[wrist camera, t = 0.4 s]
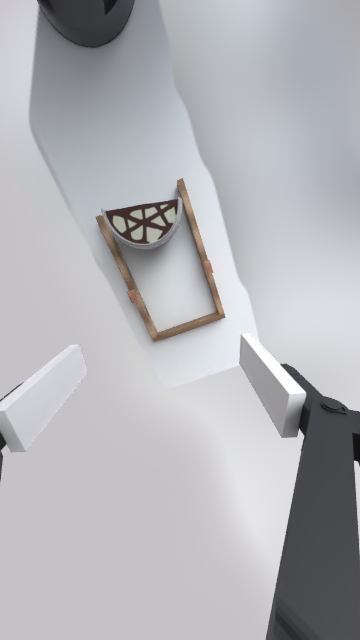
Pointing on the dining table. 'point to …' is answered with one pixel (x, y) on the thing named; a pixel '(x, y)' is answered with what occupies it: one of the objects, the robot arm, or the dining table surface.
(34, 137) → the dining table surface
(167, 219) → the food container
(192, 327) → the slot rails
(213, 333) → the dining table surface
